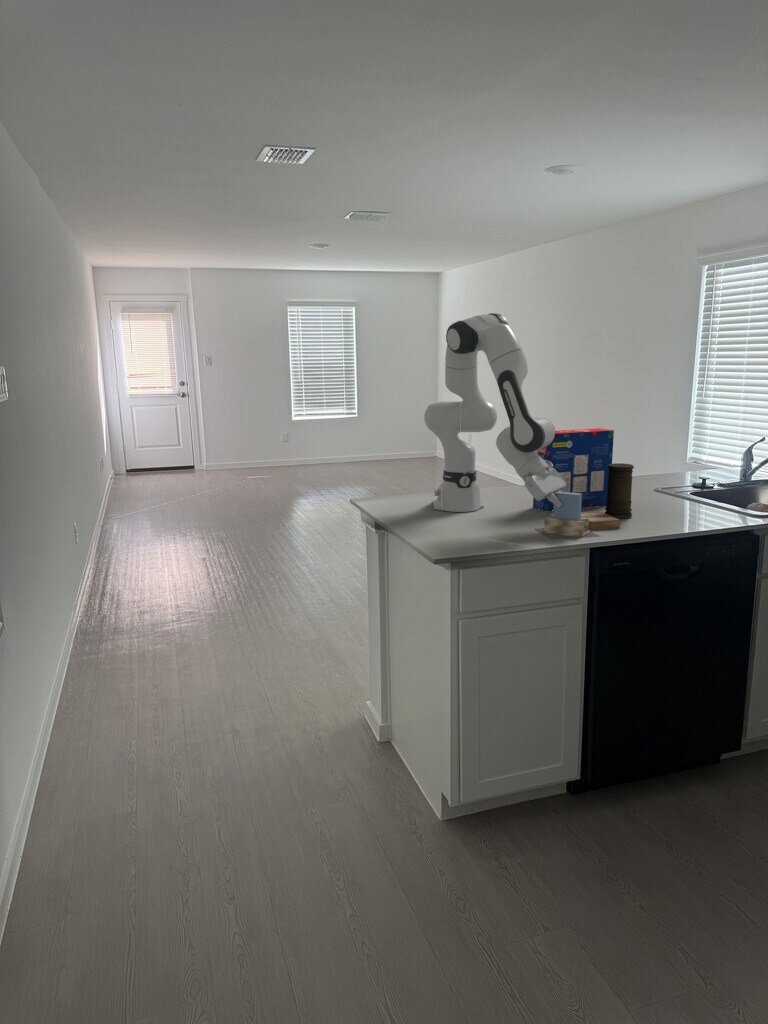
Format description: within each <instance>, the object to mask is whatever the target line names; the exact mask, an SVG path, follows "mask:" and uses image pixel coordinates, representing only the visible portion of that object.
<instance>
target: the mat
mask: <svg viewBox="0 0 768 1024" xmlns="http://www.w3.org/2000/svg"><path fill="white" fill-rule="evenodd" d="M533 530H534V531H535V532H538V534H539V533H540V534H541V535H543V536H544V537H547V538H548V539H550V540H552V541H553V540H564V539H565V540H566V539H567V540H568V539H582V538H598V537H600V535H599V534H597V533H594V532H593V531H592V530H590V529H588V531H590V533H589V534H587V535H586V536H584V537H575V536H567V535H560V534H552V533H544V532H542V530H544V527H541V528H540V527H539V528H533Z"/></svg>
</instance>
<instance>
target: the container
mask: <svg viewBox="0 0 768 1024" xmlns="http://www.w3.org/2000/svg"><path fill="white" fill-rule="evenodd" d="M608 468H609V476H608V490H607V500H606V502H607V503H606V506H605V509H604V510H605V511H604V513H605V514H607V515H610V516H612V517H614V518H617V519H619V520H625V519H626V518H627V519H631V518H632V517H633V516H632V515H633V513H632V511H633V510H632V490H633V488H632V486H633V469H634V468H635V466H634V465H633V464H631V463H621V462H618V463H612V464H609V465H608Z"/></svg>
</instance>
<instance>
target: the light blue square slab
mask: <svg viewBox="0 0 768 1024" xmlns="http://www.w3.org/2000/svg"><path fill="white" fill-rule="evenodd" d="M554 495H555V497H557V498H558V499H560V500H561V502H562V503H563V504H562V505H561V506H560V507H557V506H556V505H555V504H554V506H553V511H552V514H553V518H557V519H565V520H574V521H581V512H582V508H581V503H582V494H580V493H568V492H554Z"/></svg>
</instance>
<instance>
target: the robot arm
mask: <svg viewBox="0 0 768 1024" xmlns="http://www.w3.org/2000/svg"><path fill="white" fill-rule="evenodd" d="M445 338H446V339H445V341H446V343H447V344H446V349H445V350H446V351H445V362H444V363H445V364H444V367H445V368H444V373H445V374H444V376H445V377H444V380H445V381H444V384H445V387H446V388H447V390H449V392H451V393H453V394H454V395H456V396H459V397H460V398H461V399H462V400H461V401H439V402H434V403H430V404H429V405H428V406H427V407H426V409H425V411H424V416H423V418H424V423H425V426H426V427H427V428H428V430H430V431H431V433H433V434H434V435H435V436H436V437H437V438H438V440H439V441H440V443H441V445H442V446H441V447H442V448H443V455H444V470H443V472H442V482H441V483H440V484H439V486H438V488H437V489H434V496H435V497H437V498H435V499H432V500H431V504H432V503H433V504H432V506H434V507H433V509H434V510H435V509H437V510H436V511H444V510H445V511H444V512H452V513H468V512H474V511H478V510H480V509H483V508H485V504H484V503H481V487H480V485H479V483H477V470H476V449H475V447H474V446H472V444H470V443H468V442H466V441H464V440H462V439H460V437H459V436H458V435H459V433H483V432H486V431H491V430H492V429H493V428H494V427H495V426H496V423H497V419H498V414H497V409H496V408H495V406H494V405H493V404H492V402H490V401H488V400H487V399H486V398H485V397H484V395H483V394H482V392H481V389H480V387H479V382H478V352H481V351H482V352H483V353H484V354H485V356H486V358H487V362H488V364H489V366H490V369H491V371H492V373H493V376H494V378H495V381H496V384H497V387H498V390H499V393H500V397H501V400H502V403H503V406H504V408H505V411H506V414H507V417H508V422H509V426H506V427H505V428H504V429H503V430H502V431H500V433H499V434H498V436H497V438H496V441H495V445H496V447H497V449H498V451H499V453H500V454H501V456H503V458H504V459H505V461H506V462H507V463H508V464H509V465H511V466H512V467H513V468H514V471H515V473H517V475H518V476H519V477H520V478H521V479H522V481H523V482H524V487H525V488H526V490H527V491H528V492H529V493H530V495H531V496H532V497H534V498H535V499H536V500H537V501H540V500H542V499H545V498H547V499H548V500H549V501H551V502H552V503H554V504H555V505H556V506H557V507H560V506H561V505H562V504H563V503H562V502H561V500H560V499H558V498H557V497H555V495H554V492H561V490H563V489H564V488H565V487H566V483H565V481H564V480H563V478H562V477H561V476H560V474H559V473H558V472H557V471H556V470H555V469H554V468H552V467H553V464H552V463H551V462H550V461H546V460H544V459H542V458H541V457H540V456H539V455H538V451H539V450H541V449H543V448H544V447H546V446H548V445H549V444H550V443H551V442H552V441H553V439H554V437H555V431H556V428H555V426H554V424H553V422H551V421H550V420H549V419H547V418H544V417H533V416H532V414H531V413H530V410H529V408H528V405H527V402H526V399H525V396H524V393H523V390H522V389H523V388H522V385H523V383H524V382H523V381H524V380H525V378H526V377H527V375H528V371H529V367H528V361H527V359H526V356H525V353H524V350H523V349H522V346H521V344H520V342H519V339H518V338H517V336H516V334H515V333H514V332H513V330H512V329H511V327H510V326H509V323H508V321H507V318H506V317H504V316H503V315H502V314H500V313H494V312H493V313H488V314H479V315H474V316H472V317H469V318H465V319H463V320H457V321H455V322H452V323H451V324H450V325H449V326H448V328H447V329H446V334H445Z"/></svg>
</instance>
